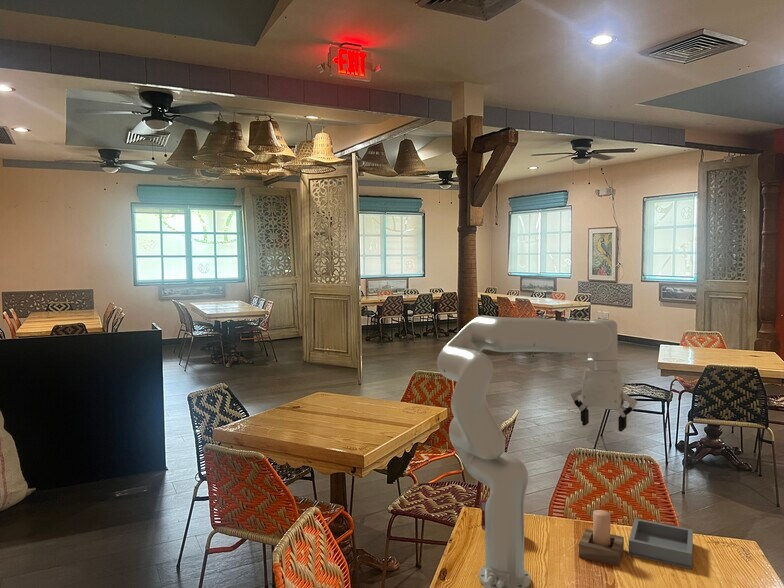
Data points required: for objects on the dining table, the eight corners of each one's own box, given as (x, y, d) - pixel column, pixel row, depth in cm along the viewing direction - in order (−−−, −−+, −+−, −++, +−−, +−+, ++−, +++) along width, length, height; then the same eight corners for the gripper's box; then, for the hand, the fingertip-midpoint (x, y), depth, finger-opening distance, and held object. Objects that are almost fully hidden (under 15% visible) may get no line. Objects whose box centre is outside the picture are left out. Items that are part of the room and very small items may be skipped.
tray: (691, 569, 141) (692, 553, 141) (628, 554, 148) (628, 540, 148) (692, 543, 154) (693, 529, 154) (634, 531, 161) (634, 518, 161)
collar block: (618, 566, 143) (618, 553, 142) (578, 556, 147) (578, 544, 147) (623, 549, 151) (623, 536, 151) (585, 540, 156) (585, 528, 156)
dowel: (608, 558, 146) (609, 518, 146) (591, 554, 148) (591, 514, 148) (611, 551, 150) (611, 511, 150) (594, 547, 152) (594, 508, 152)
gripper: (566, 364, 151) (566, 425, 152) (632, 370, 140) (632, 436, 141) (576, 360, 157) (576, 419, 158) (640, 365, 146) (640, 429, 147)
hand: (603, 427), depth 150 cm, fingers open, 9 cm apart
